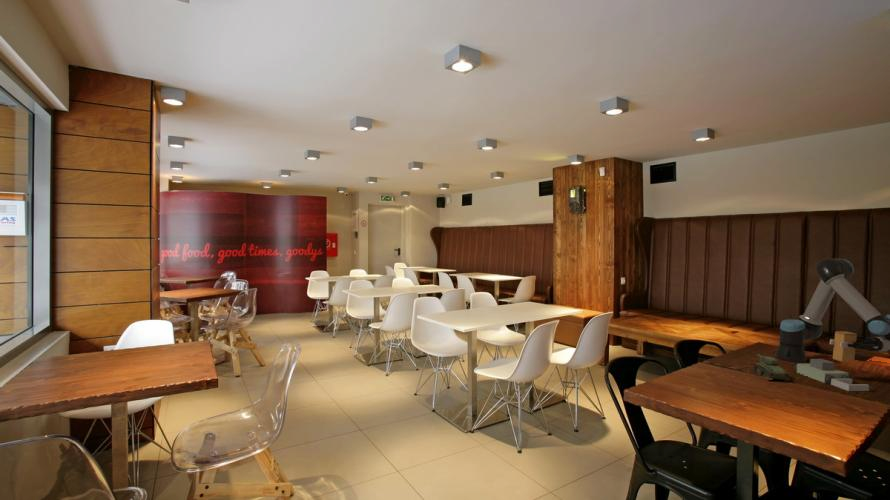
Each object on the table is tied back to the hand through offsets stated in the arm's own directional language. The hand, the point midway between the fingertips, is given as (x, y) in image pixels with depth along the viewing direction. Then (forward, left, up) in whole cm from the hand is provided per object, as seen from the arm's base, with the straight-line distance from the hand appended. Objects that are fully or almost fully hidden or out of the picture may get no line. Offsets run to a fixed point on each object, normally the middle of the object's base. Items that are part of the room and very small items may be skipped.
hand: (835, 343), depth 230 cm
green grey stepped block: (+5, -7, -18) cm, 20 cm away
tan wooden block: (0, +5, -9) cm, 11 cm away
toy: (-3, -35, -19) cm, 40 cm away
